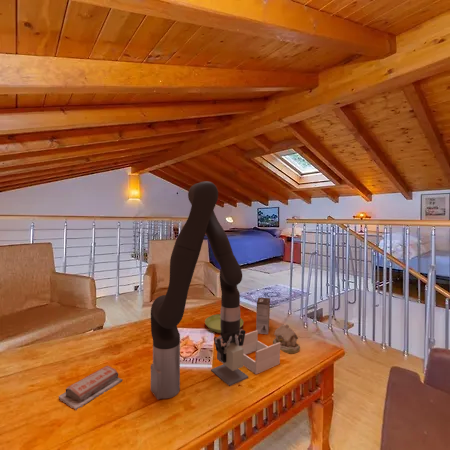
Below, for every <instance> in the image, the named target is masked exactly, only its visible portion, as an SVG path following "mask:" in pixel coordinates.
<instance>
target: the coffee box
mask: <svg viewBox="0 0 450 450" xmlns="http://www.w3.org/2000/svg"><path fill="white" fill-rule="evenodd" d="M270 305H271V298H270V297H258V298H257V301H256V316H255V317H256V321H255V323H256V324H255V325H256V328H255V331H256V330H257V331H258V335H259V334H261V335H269V332H270V331H269V329H270V310H271V309H270V307H271V306H270Z"/></svg>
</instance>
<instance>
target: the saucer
mask: <svg viewBox="0 0 450 450" xmlns="http://www.w3.org/2000/svg"><path fill="white" fill-rule="evenodd" d="M204 324H205V326H206V327H207V328H208V329H209V330H210V331H212V332H213V333H217V334H221V327H220V324H221V313H218V314H212V315H209V316H208V317H206V318H205V320H204ZM243 326H244V320H243V319H242V317H240V329H242V327H243Z"/></svg>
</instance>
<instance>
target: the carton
mask: <svg viewBox="0 0 450 450" xmlns="http://www.w3.org/2000/svg"><path fill="white" fill-rule="evenodd" d="M258 336H259V333H258V331H257V330H256V329H255V330H253V331H250V332H246V333H245V337H244V343H243V346H240V347H241V348H243V367H245V368H246V369H248V370H249V371H250V372H252V373H253V374H255V375H258V374H260V373H263V372H265V371H267V370H269V369H271V368H273V367H276V366H277V365H280V363H281V350H280V342H279V343H276V344H273V343H272V344H271V345H269V346H268V345H266V344H265V343H264V342H261V341H259V340H258V339H259V337H258ZM240 342H241V340H240ZM251 353H255V360H254V359H253V358H251V357H249V356H248V355H249V354H251Z"/></svg>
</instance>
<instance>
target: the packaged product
mask: <svg viewBox="0 0 450 450" xmlns="http://www.w3.org/2000/svg"><path fill="white" fill-rule="evenodd" d="M121 382H123V379H122V378H121V377H119V373H118V372H117V370H116V368H113V367H112V366H109V365H105V366H104V367H102V368H100V369H97V370H96V371H94V372H92V373H91V374H89V375H87V376H85V377H83V378H82V379H80V380H78V381H76V382H74V383H72V384H71V385H68V386H67V387H66V389H65V392H64V393H62V394H60V395H58V400H59V399H60V400H59V401H60V402H62V401H63V402H62V403H63V404H65V403H66V404H65V405H66V406H68V407H69V406H70V408H71V409H72V408H74V409H75V410H74V409H73V410H74V411H78V410H79V409H81V408H82V407H84V406H85V405H87V404H88V403H90V402H92V401H93V400H95V399H96V397H97V398H98V397H100V396H102V395H103V394H105V393H106V392H108V391H109V390H111V389H113V388H114V387H115V386H117V385H118V384H120V383H121ZM104 392H105V393H104ZM99 395H100V396H99ZM94 398H95V399H94ZM91 400H92V401H91ZM83 405H84V406H83ZM80 407H81V408H80ZM78 408H79V409H78ZM77 409H78V410H77Z"/></svg>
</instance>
